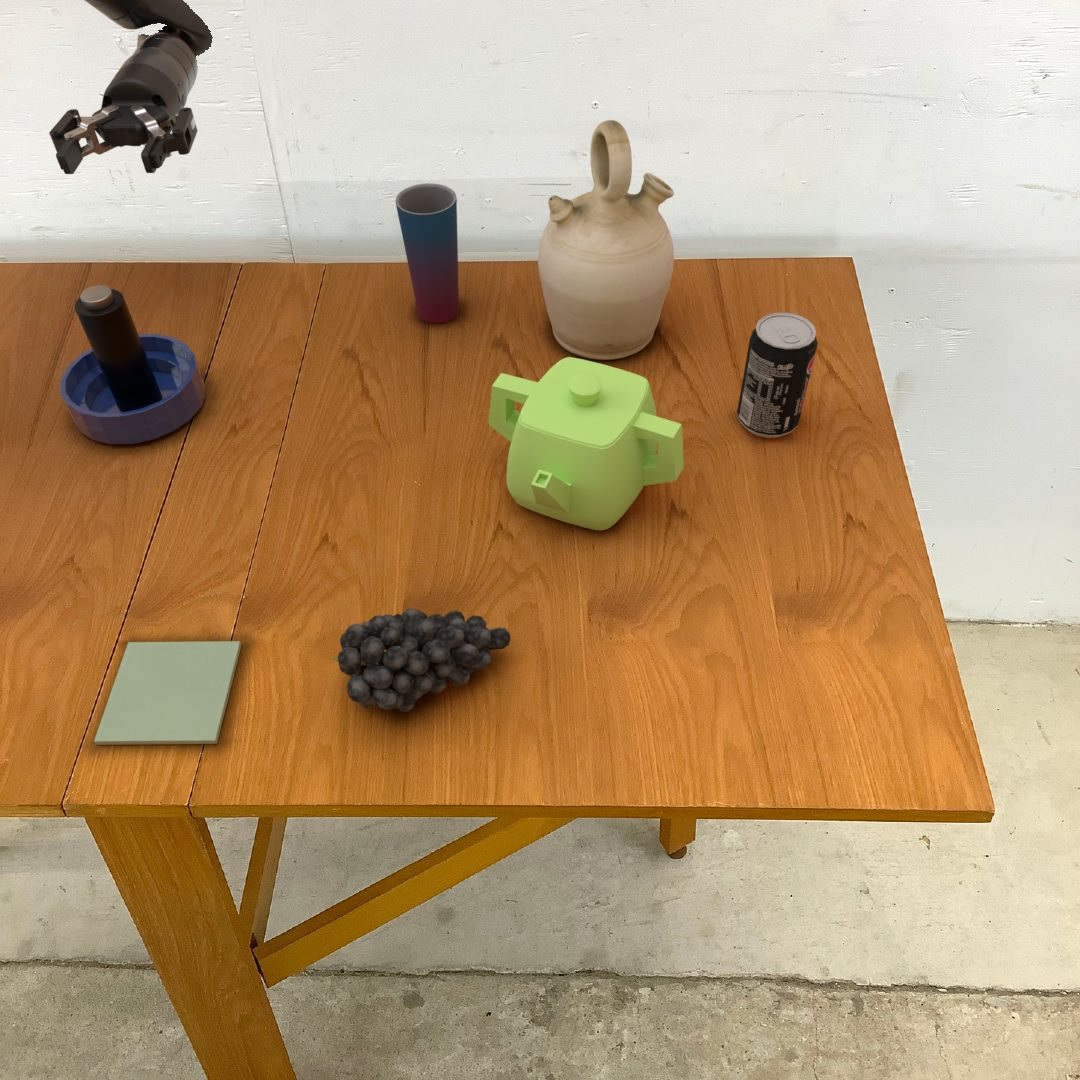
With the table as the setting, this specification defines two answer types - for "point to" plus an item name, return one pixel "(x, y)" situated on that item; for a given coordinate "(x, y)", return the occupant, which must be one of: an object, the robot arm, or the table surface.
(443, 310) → the cup
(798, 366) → the beverage can
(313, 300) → the table surface
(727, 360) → the table surface
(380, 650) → the fruit
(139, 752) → the table surface
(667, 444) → the teapot
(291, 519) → the table surface
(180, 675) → the mat
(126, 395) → the bottle
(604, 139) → the jug
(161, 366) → the bowl
